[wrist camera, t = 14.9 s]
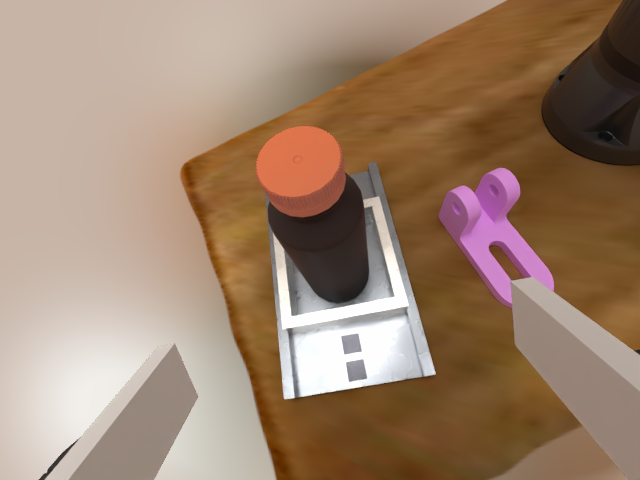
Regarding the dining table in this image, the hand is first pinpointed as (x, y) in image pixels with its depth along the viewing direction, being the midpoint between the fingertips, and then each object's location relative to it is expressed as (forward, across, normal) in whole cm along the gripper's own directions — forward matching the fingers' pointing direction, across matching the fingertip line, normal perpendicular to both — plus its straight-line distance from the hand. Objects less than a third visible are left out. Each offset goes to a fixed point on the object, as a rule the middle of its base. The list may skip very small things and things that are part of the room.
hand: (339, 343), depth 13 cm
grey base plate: (+23, -2, -7) cm, 24 cm away
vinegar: (+22, -2, -7) cm, 23 cm away
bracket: (+23, +15, -9) cm, 29 cm away
